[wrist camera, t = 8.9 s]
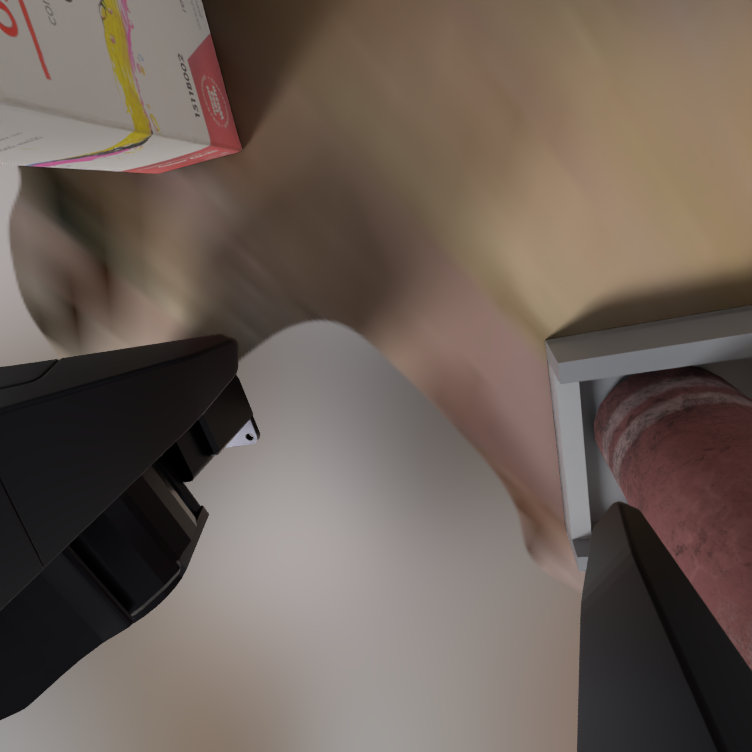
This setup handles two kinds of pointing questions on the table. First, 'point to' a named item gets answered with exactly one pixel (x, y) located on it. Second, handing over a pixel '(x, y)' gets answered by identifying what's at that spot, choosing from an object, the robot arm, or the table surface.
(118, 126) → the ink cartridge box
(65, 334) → the table surface
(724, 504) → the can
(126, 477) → the robot arm
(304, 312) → the table surface
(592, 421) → the grey shallow open box
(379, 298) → the table surface
